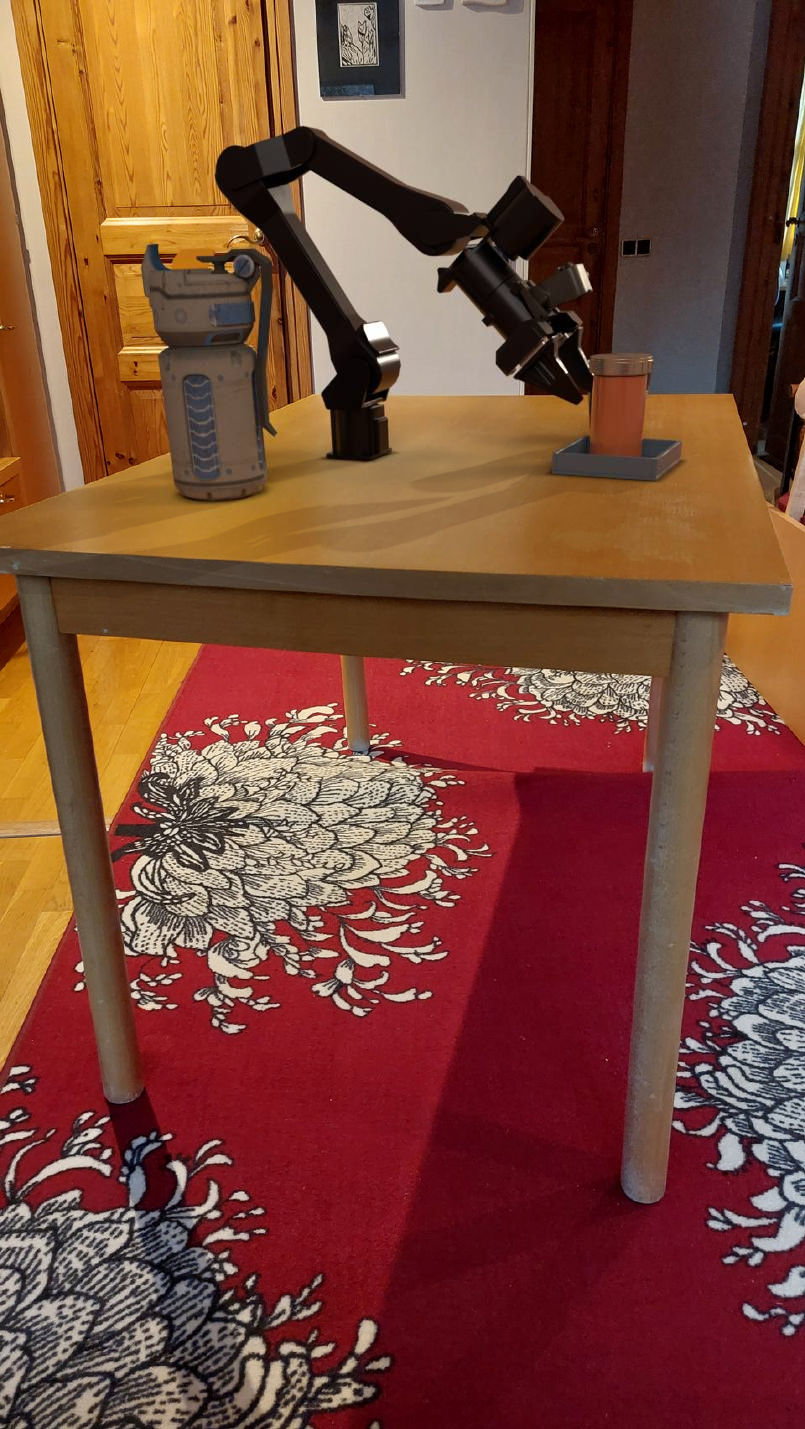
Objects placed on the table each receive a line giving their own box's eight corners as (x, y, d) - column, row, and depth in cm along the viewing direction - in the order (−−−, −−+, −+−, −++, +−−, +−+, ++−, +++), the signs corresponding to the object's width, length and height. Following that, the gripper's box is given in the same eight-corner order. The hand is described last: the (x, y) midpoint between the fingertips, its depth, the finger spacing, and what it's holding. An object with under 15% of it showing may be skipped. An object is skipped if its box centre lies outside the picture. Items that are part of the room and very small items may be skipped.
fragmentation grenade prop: (278, 503, 103) (256, 240, 92) (157, 504, 105) (121, 244, 94) (298, 482, 112) (280, 240, 102) (185, 483, 114) (156, 244, 103)
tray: (551, 474, 113) (552, 452, 112) (583, 455, 122) (584, 435, 121) (656, 481, 108) (657, 459, 107) (680, 460, 117) (682, 440, 116)
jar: (607, 470, 111) (613, 364, 106) (578, 462, 116) (583, 359, 111) (651, 465, 113) (659, 360, 108) (621, 457, 118) (627, 356, 114)
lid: (612, 377, 106) (613, 360, 106) (577, 371, 112) (577, 356, 111) (664, 372, 109) (666, 356, 108) (627, 367, 115) (628, 352, 114)
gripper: (527, 236, 100) (628, 352, 101) (569, 236, 115) (656, 337, 116) (454, 319, 106) (550, 428, 107) (503, 309, 121) (586, 404, 122)
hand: (589, 396), depth 113 cm, fingers open, 9 cm apart
